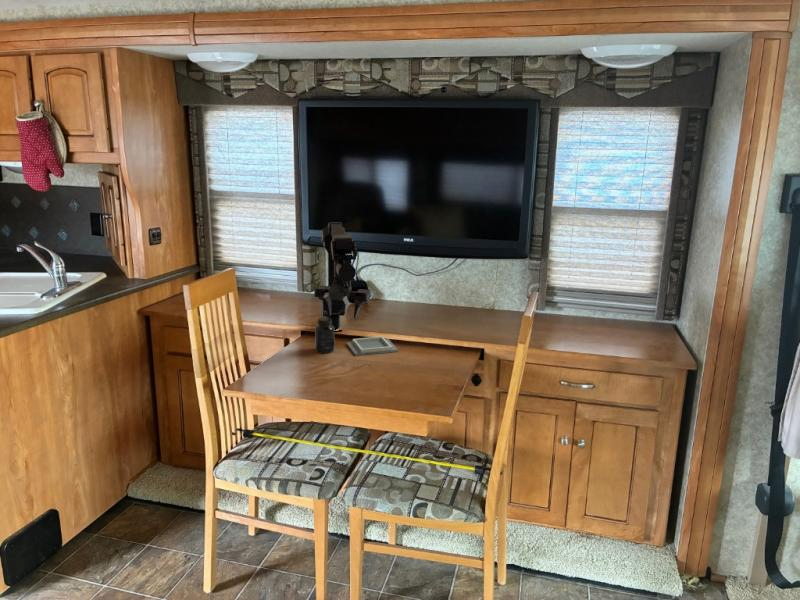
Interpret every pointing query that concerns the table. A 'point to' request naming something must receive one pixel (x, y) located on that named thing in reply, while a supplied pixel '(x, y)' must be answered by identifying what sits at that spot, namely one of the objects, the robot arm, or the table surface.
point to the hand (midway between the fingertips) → (342, 317)
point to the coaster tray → (371, 346)
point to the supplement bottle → (324, 335)
